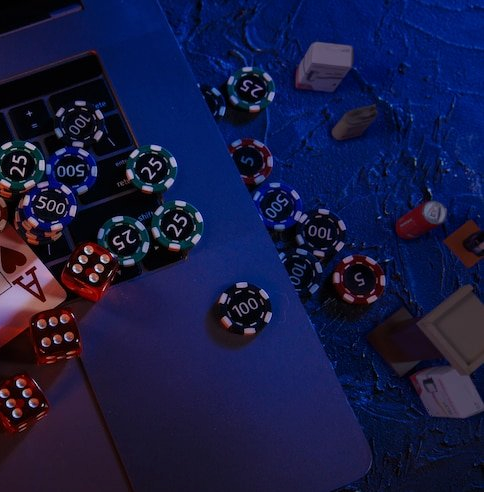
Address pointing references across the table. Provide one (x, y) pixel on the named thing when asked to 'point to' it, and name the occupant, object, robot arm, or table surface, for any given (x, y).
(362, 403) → the table surface
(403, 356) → the stand
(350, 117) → the tan tapered block
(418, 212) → the beverage can
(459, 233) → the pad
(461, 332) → the dock pad
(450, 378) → the ink box
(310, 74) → the ink box
